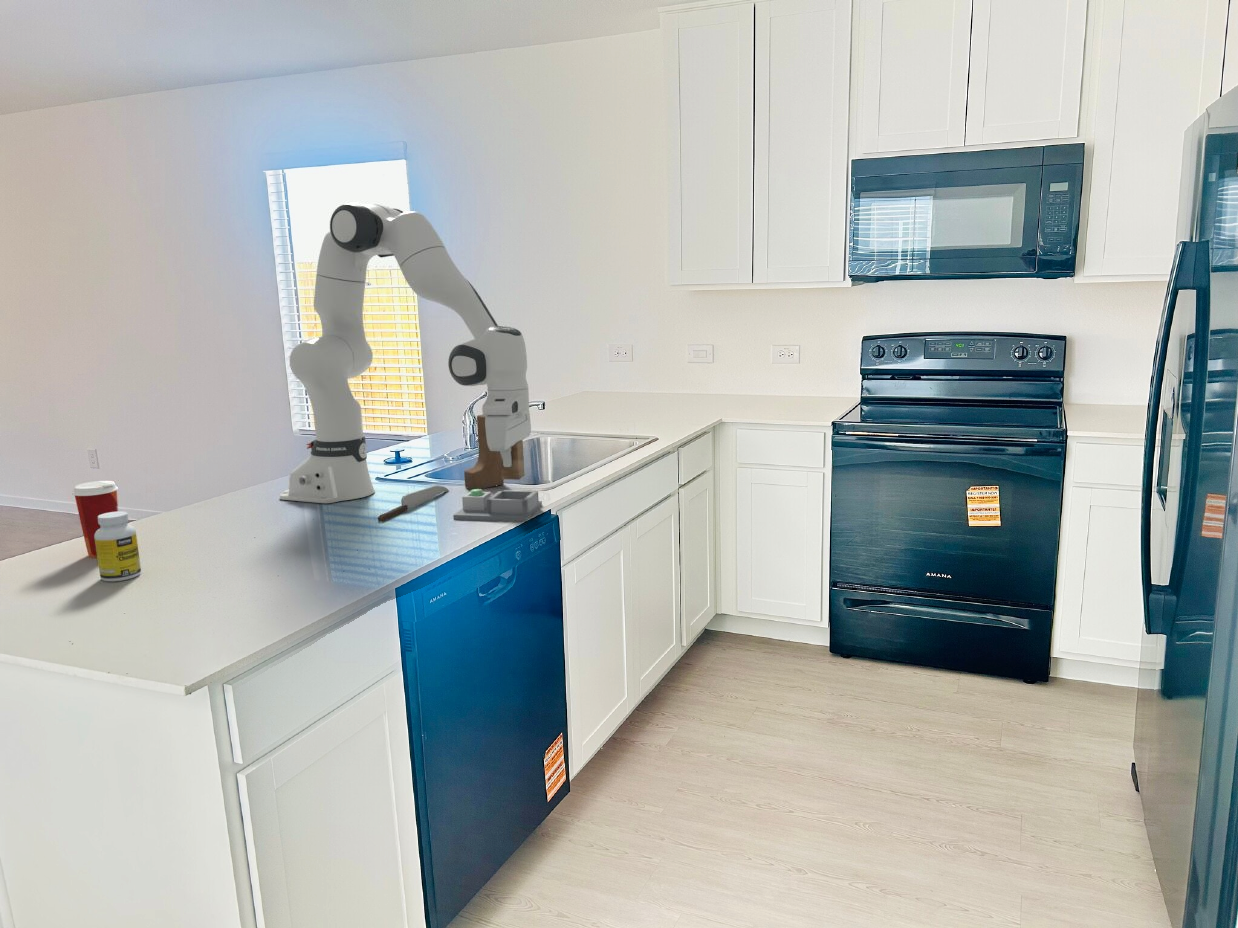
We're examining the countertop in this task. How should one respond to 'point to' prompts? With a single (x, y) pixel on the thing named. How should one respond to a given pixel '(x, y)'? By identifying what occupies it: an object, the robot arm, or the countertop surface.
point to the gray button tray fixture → (499, 506)
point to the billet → (514, 463)
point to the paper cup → (94, 508)
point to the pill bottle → (117, 547)
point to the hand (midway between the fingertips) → (512, 463)
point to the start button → (476, 492)
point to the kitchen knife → (413, 501)
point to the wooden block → (484, 463)
